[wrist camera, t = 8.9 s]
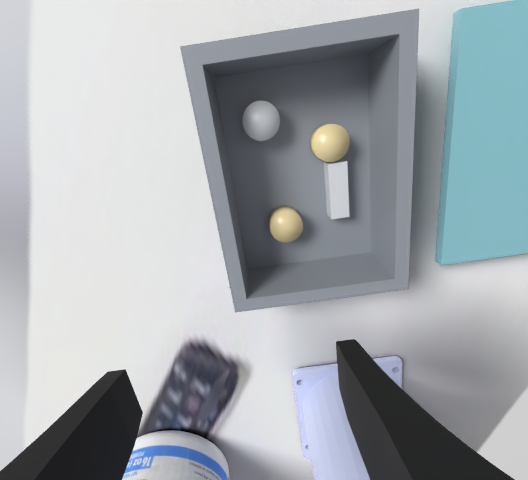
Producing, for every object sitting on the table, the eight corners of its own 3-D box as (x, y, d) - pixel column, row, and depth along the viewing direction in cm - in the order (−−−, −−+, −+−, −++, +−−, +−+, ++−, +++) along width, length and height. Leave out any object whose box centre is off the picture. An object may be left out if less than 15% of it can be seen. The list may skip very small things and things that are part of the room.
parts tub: (378, 256, 19) (408, 288, 15) (239, 276, 19) (235, 312, 16) (378, 38, 15) (419, 8, 11) (198, 65, 15) (180, 46, 11)
